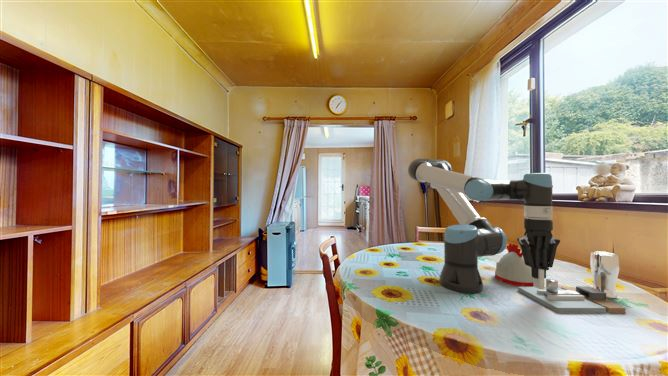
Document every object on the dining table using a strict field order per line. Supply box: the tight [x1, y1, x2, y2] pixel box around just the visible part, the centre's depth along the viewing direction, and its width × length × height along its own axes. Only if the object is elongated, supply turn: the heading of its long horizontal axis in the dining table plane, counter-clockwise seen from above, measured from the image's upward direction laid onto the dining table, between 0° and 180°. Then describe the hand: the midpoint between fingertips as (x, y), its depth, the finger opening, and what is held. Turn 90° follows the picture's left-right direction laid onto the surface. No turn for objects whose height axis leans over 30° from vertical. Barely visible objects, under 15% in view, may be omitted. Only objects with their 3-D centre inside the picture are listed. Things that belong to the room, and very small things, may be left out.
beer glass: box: [589, 250, 620, 299], centre depth 88 cm, size 7×7×15 cm
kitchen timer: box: [494, 243, 534, 287], centre depth 102 cm, size 14×14×15 cm
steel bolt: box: [544, 278, 580, 295], centre depth 83 cm, size 10×3×5 cm, turn 90°
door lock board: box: [517, 285, 626, 314], centre depth 83 cm, size 21×16×4 cm
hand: (538, 287), depth 83 cm, fingers closed
